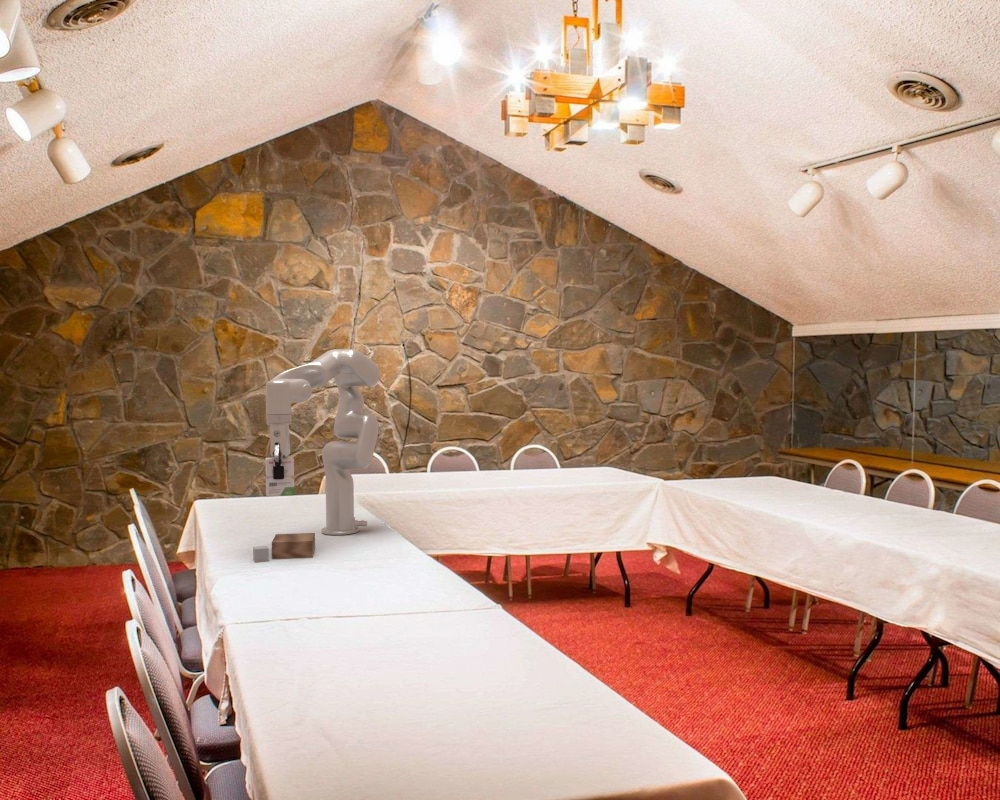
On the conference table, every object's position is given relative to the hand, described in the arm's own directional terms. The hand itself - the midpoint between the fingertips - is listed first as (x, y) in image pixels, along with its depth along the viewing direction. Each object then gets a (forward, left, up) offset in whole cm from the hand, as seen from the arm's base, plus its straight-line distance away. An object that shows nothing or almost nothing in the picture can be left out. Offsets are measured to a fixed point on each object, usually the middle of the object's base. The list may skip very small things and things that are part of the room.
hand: (280, 477), depth 285 cm
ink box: (0, 0, -6) cm, 6 cm away
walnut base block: (-4, +4, -23) cm, 24 cm away
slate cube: (+5, +12, -23) cm, 27 cm away
